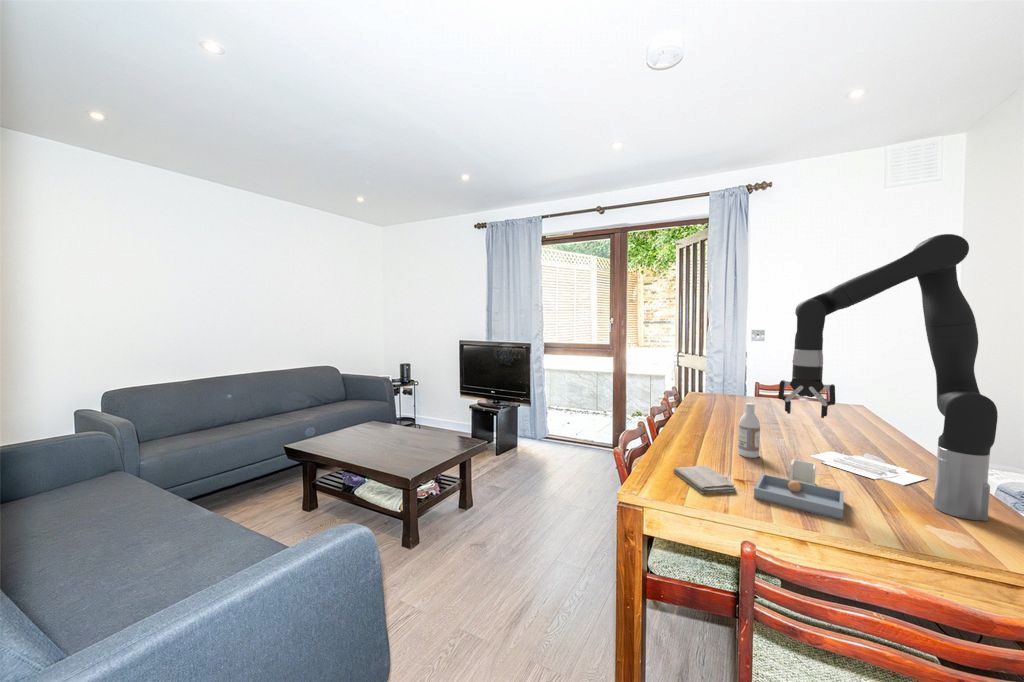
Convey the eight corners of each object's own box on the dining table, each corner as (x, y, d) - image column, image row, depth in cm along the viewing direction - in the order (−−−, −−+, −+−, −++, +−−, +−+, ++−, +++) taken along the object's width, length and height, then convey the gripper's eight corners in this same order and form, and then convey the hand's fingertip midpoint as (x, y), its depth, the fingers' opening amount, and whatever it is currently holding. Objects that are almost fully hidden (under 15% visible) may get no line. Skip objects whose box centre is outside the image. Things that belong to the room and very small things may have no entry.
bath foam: (753, 459, 147) (755, 406, 145) (734, 454, 152) (736, 403, 151) (762, 455, 150) (764, 404, 149) (743, 450, 156) (745, 400, 155)
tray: (843, 501, 114) (843, 491, 113) (842, 520, 103) (843, 509, 103) (761, 482, 126) (762, 473, 126) (753, 498, 116) (754, 488, 116)
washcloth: (703, 496, 118) (703, 486, 118) (671, 473, 136) (671, 464, 135) (739, 494, 119) (740, 484, 119) (703, 471, 137) (704, 462, 137)
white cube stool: (814, 483, 126) (815, 463, 125) (813, 489, 121) (814, 469, 121) (791, 478, 130) (792, 459, 129) (789, 484, 125) (790, 464, 125)
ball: (790, 488, 121) (800, 483, 120) (794, 496, 118) (805, 491, 117) (783, 481, 120) (793, 476, 119) (788, 489, 118) (798, 484, 116)
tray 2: (898, 489, 122) (898, 478, 122) (803, 462, 148) (803, 452, 148) (933, 479, 130) (933, 468, 130) (837, 455, 156) (837, 445, 156)
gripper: (837, 364, 121) (834, 416, 122) (781, 361, 130) (779, 409, 131) (836, 367, 115) (834, 421, 116) (778, 363, 125) (776, 414, 126)
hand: (805, 415), depth 124 cm, fingers open, 8 cm apart
